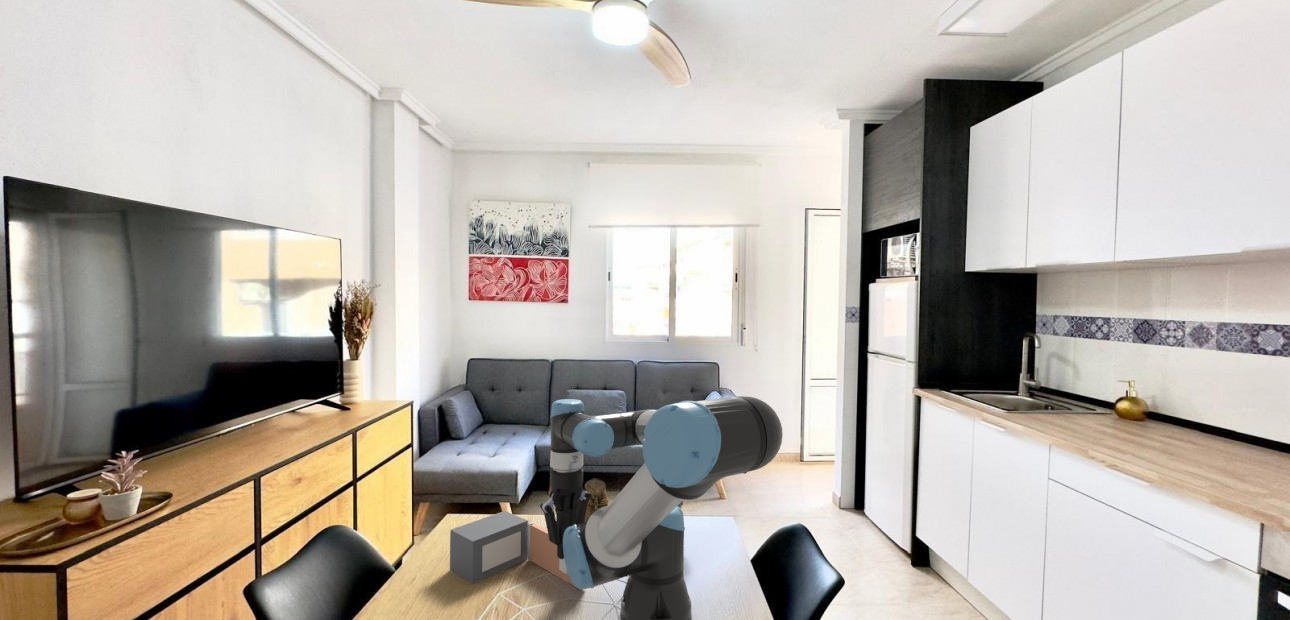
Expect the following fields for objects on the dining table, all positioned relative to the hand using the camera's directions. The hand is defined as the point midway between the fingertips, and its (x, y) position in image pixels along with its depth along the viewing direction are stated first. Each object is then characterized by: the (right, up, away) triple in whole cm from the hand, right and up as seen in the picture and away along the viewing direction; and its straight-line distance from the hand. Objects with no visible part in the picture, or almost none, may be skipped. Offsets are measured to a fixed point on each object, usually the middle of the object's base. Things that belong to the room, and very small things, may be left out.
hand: (565, 570), depth 117 cm
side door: (-4, -5, +8) cm, 10 cm away
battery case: (-21, -5, +12) cm, 25 cm away
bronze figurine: (+4, -6, +32) cm, 33 cm away
